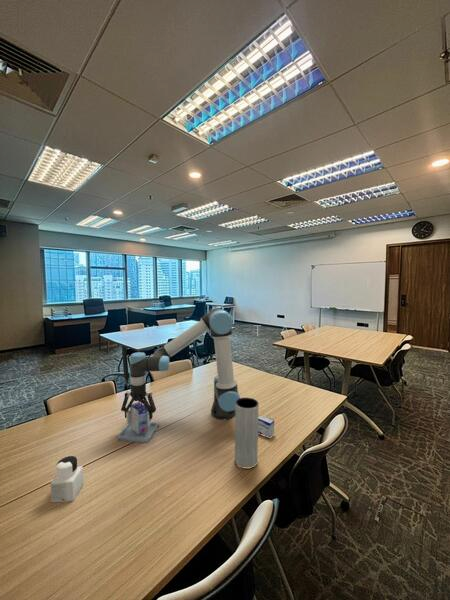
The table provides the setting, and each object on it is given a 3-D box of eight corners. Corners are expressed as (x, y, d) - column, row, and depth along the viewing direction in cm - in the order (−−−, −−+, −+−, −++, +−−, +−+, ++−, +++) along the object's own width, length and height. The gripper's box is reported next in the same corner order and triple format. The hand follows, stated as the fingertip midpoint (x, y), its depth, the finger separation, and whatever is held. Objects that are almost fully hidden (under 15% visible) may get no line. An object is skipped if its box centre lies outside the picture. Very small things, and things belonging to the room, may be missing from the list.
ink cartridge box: (148, 430, 130) (148, 403, 129) (138, 435, 127) (137, 407, 126) (139, 423, 137) (139, 397, 136) (129, 427, 134) (129, 400, 133)
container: (62, 485, 98) (61, 453, 97) (83, 484, 99) (82, 452, 98) (50, 503, 90) (49, 468, 89) (73, 501, 91) (72, 467, 90)
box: (256, 433, 133) (257, 418, 132) (261, 429, 136) (261, 414, 136) (270, 439, 128) (270, 423, 127) (274, 435, 131) (274, 419, 131)
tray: (158, 426, 138) (158, 422, 138) (148, 442, 124) (148, 438, 124) (130, 424, 140) (130, 421, 140) (117, 440, 126) (117, 436, 126)
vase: (251, 473, 105) (252, 410, 103) (230, 463, 111) (231, 404, 109) (260, 459, 114) (262, 400, 112) (241, 451, 119) (242, 395, 117)
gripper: (162, 381, 133) (162, 421, 135) (120, 379, 135) (121, 419, 137) (157, 387, 125) (157, 429, 127) (112, 384, 128) (113, 426, 129)
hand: (138, 424), depth 132 cm, fingers open, 11 cm apart
